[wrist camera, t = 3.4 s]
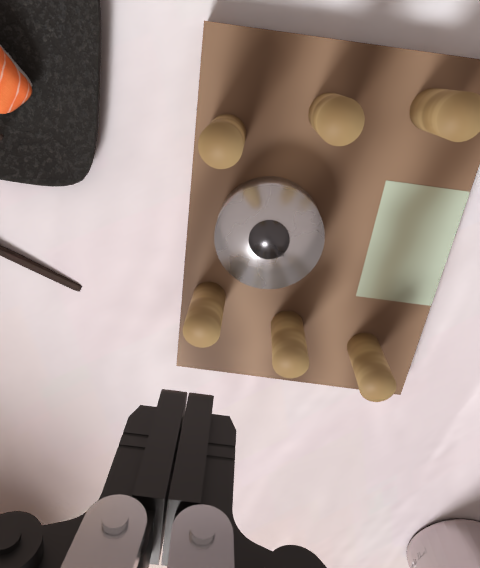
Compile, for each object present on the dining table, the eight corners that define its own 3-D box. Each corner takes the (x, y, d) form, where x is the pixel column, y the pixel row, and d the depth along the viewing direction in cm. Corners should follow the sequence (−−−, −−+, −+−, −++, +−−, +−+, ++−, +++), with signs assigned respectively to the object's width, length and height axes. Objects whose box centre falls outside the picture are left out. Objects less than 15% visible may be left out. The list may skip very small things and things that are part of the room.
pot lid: (330, 183, 30) (335, 193, 28) (309, 280, 33) (313, 296, 31) (223, 169, 30) (219, 177, 27) (212, 267, 33) (208, 282, 30)
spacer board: (501, 64, 28) (565, 62, 22) (395, 383, 38) (420, 440, 32) (207, 23, 28) (192, 10, 22) (179, 355, 38) (164, 407, 32)
